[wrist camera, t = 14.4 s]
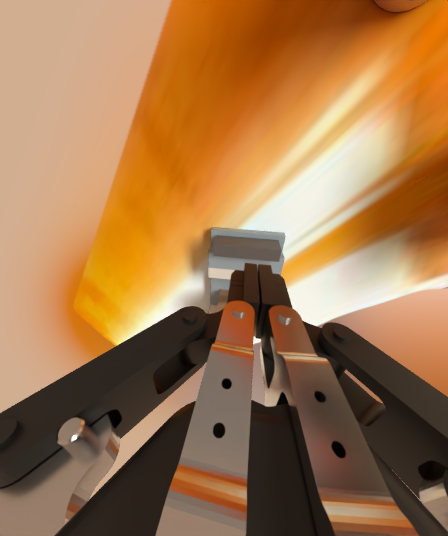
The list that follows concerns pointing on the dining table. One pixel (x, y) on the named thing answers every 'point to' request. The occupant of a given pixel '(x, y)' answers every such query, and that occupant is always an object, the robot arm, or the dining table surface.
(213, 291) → the vise
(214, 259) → the vise jaw
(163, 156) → the dining table surface
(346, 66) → the dining table surface
